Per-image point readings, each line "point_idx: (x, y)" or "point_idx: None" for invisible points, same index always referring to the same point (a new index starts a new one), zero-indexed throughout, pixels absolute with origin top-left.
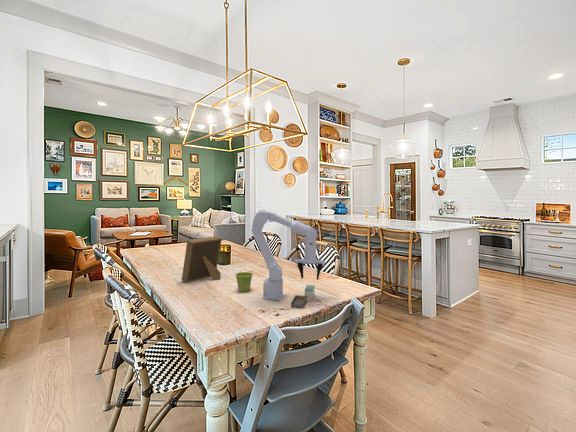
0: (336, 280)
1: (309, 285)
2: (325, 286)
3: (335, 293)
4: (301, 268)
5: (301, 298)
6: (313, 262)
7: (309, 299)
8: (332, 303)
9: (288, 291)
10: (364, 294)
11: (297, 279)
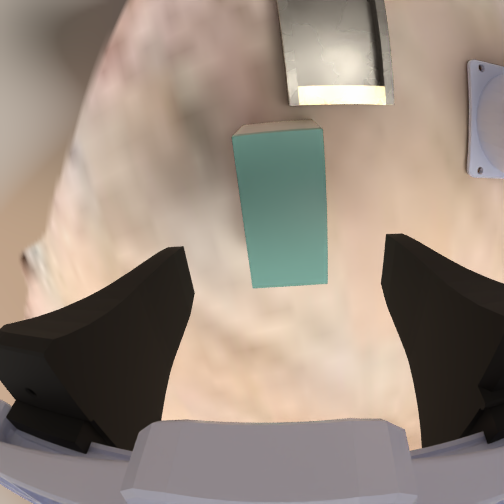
0: None
1: (301, 274)
2: (230, 390)
3: None
4: (480, 300)
5: (330, 76)
6: (98, 478)
7: (270, 122)
8: (93, 114)
9: None
10: (29, 314)
11: None
